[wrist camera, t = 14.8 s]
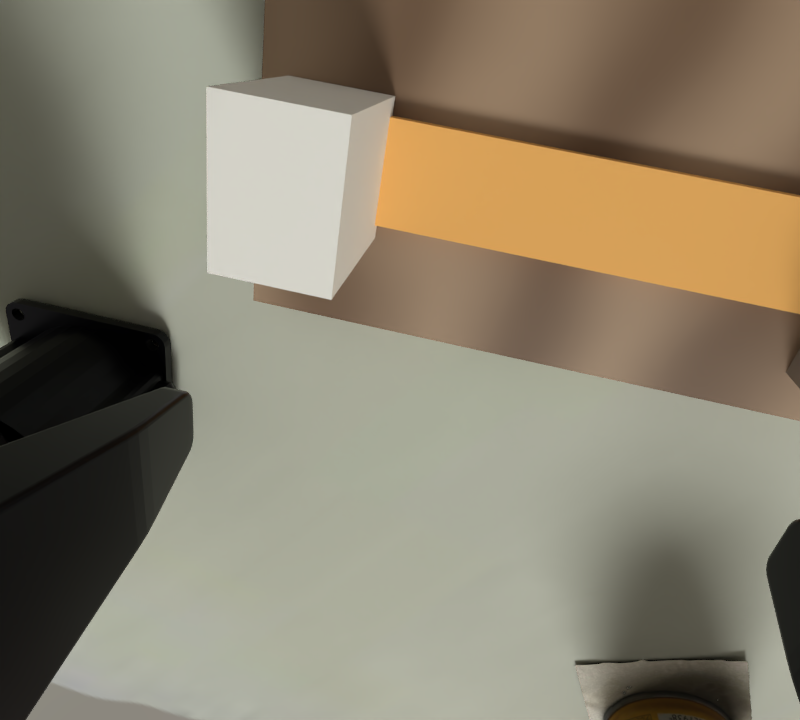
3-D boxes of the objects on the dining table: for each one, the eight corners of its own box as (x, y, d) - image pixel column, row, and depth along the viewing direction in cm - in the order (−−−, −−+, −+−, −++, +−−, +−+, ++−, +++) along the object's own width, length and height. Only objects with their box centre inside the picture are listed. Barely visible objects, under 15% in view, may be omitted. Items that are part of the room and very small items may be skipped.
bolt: (280, 218, 18) (207, 272, 14) (289, 75, 16) (206, 86, 12) (864, 340, 17) (987, 443, 12) (950, 203, 15) (1132, 268, 10)
